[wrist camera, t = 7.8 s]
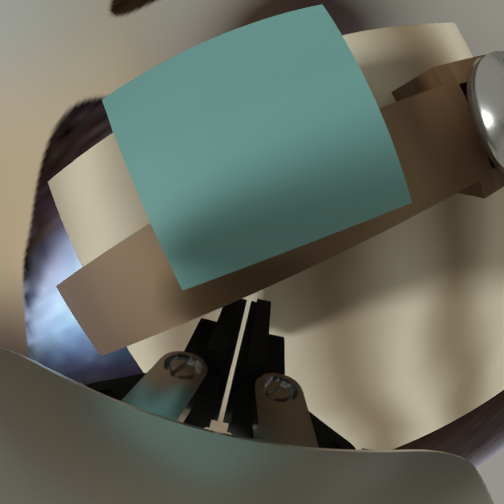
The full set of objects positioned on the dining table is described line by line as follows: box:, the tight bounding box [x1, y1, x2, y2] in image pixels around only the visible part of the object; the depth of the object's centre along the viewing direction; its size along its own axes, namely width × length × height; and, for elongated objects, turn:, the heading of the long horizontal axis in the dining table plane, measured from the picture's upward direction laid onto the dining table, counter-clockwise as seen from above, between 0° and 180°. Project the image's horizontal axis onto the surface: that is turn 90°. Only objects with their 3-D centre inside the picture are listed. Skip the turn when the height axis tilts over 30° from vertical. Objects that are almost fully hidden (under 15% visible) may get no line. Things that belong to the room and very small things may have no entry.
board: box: [48, 23, 504, 450], centre depth 13 cm, size 22×24×2 cm
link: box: [56, 55, 504, 356], centre depth 9 cm, size 18×4×4 cm, turn 118°
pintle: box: [464, 51, 504, 173], centre depth 7 cm, size 4×4×5 cm
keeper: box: [102, 5, 412, 290], centre depth 8 cm, size 5×4×6 cm
